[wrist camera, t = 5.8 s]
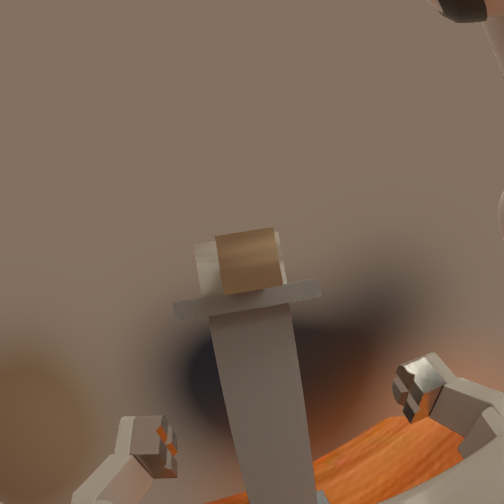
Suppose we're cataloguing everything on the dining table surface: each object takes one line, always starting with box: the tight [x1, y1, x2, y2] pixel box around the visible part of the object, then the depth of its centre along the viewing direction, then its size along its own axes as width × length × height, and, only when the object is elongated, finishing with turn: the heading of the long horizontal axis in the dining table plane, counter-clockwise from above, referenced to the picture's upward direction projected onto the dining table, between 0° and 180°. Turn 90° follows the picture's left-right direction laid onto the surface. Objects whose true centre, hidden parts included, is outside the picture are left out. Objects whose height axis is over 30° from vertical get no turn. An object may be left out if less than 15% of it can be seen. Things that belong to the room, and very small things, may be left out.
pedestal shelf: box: [173, 278, 329, 504], centre depth 28 cm, size 12×11×32 cm
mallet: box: [194, 227, 287, 298], centre depth 24 cm, size 18×8×5 cm, turn 3°
